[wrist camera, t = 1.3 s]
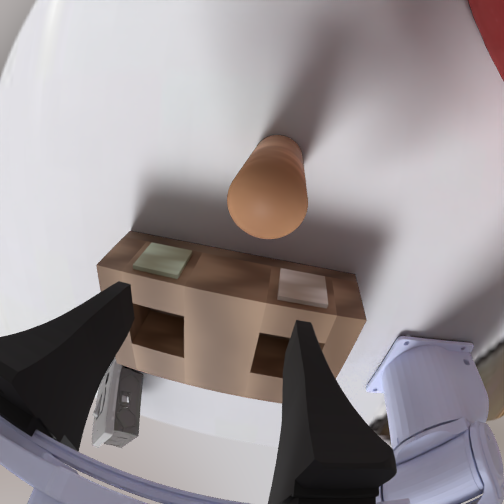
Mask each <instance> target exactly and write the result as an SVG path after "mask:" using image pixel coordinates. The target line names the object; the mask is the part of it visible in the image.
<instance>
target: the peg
mask: <svg viewBox="0 0 504 504" xmlns="http://www.w3.org/2000/svg"><path fill="white" fill-rule="evenodd" d="M227 205H228V210H229V213H230V215H231V217H232V219H233V220H234V222H235V223H236V224H237V225H238V227H239V228H241V229H242V230H243V231H244V232H246V233H248V234H250V235H252V236H254V237H257V238H262V239H276V238H281V237H283V236H286V235H288V234H290V233H291V232H293V231H294V230H295V229H297V228H298V227H299V225H300V224H301V223H302V221H303V220H304V218H305V215H306V212H307V208H308V197H307V189H306V180H305V172H304V165H303V157H302V152H301V150H300V148H299V146H298V145H297V143H296V142H295V141H293V140H292V139H291V138H289V137H286V136H283V135H272V136H269V137H266V138H265V139H263V140H262V141H261V142H260V143H259V144H258V145H257V147H256V148H255V150H254V151H253V152H252V154H251V155H250V157H249V158H248V160H247V161H246V162H245V164H244V165H243V167H242V168H241V170H240V171H239V172H238V174H237V175H236V177H235V178H234V180H233V181H232V183H231V185H230V187H229V190H228V195H227Z"/></svg>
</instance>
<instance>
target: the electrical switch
mask: <svg viewBox="0 0 504 504" xmlns="http://www.w3.org/2000/svg"><path fill="white" fill-rule="evenodd" d="M142 383H143V374H140V373H137V372H134V371H132V370H130V369H127V368H124V367H123V366H122V365H120V364H117V362H116V358H115V359H114V361H113V362H112V364H111V366H110V368H109V369H108V371H107V373H106V375H105V376H104V378H103V380H102V382H101V384H100V386H99V391H98V396H97V402H96V408H95V410H94V413H93V416H94V422H93V433H92V446H94V447H97V448H99V447H100V446H101V445H102V444H103V443H104V444H107V445H113V446H116V447H120V448H122V447H123V446H125V445H126V444H127V443H129V442H130V441H132V440H133V439H135V438H136V437H137V436H138V433H139V418H140V405H141V393H142ZM128 393H130V394H128ZM127 397H129V403H127ZM126 407H128V408H126Z"/></svg>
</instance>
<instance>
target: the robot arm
mask: <svg viewBox="0 0 504 504" xmlns="http://www.w3.org/2000/svg"><path fill="white" fill-rule="evenodd" d="M134 319H135V317H134V310H133V301H132V293H131V284H128V283H124V282H120V281H118V282H116V283H115V284H113V285H111V286H110V287H108V288H107V289H105V290H103V291H102V292H100V293H99V294H97V295H96V296H94V297H92V298H91V299H89V300H88V301H86V302H84V303H83V304H81V305H79V306H78V307H76V308H74V309H72V310H71V311H69V312H67V313H65V314H64V315H62V316H60V317H58V318H56V319H53V320H51V321H49V322H47V323H45V324H42V325H39V326H37V327H34V328H31V329H29V330H26V331H23V332H19V333H16V334H12V335H8V336H3V337H0V464H1V465H2V466H4V467H5V468H6V469H8V470H9V471H10V472H12V473H13V474H15V475H16V476H17V477H19V478H20V479H22V480H23V481H25V482H26V483H28V484H29V485H31V486H32V487H34V489H33V492H32V494H31V496H30V498H29V501H28V503H27V504H148V503H145V502H142V501H139V500H137V499H134V498H131V497H129V496H126V495H123V494H121V493H118V492H116V491H113V490H111V489H108V488H106V487H104V486H102V485H99V484H97V483H95V482H93V481H90V480H88V479H86V478H84V477H82V476H80V475H79V474H78V473H77V471H76V470H78V471H80V472H82V473H85V474H87V475H89V476H91V477H93V478H95V479H98V480H100V481H103V482H105V483H107V484H109V485H112V486H114V487H117V488H119V489H122V490H124V491H127V492H130V493H132V494H135V495H138V496H141V497H144V498H147V499H150V500H153V501H156V502H160V503H163V504H249V503H241V502H236V501H229V500H224V499H219V498H214V497H209V496H204V495H200V494H196V493H191V492H187V491H183V490H180V489H176V488H173V487H169V486H165V485H162V484H159V483H155V482H153V481H149V480H146V479H143V478H140V477H138V476H135V475H132V474H129V473H127V472H124V471H121V470H119V469H116V468H114V467H111V466H109V465H106V464H104V463H102V462H99V461H97V460H95V459H93V458H90V457H88V456H86V455H84V454H82V453H80V452H78V451H79V447H80V442H81V438H82V434H83V430H84V427H85V423H86V420H87V417H88V414H89V411H90V408H91V405H92V403H93V400H94V397H95V395H96V392H97V390H98V388H99V385H100V383H101V380H102V379H103V377H104V375H105V373H106V371H107V369H108V368H109V366H110V364H111V363H112V361H113V359H114V358H115V356H116V354H117V353H118V351H119V349H120V347H121V346H122V344H123V342H124V341H125V339H126V337H127V335H128V333H129V331H130V328H131V326H132V324H133V321H134ZM406 341H407V342H406ZM473 348H474V345H473V343H468V342H456V341H445V340H435V339H425V338H416V337H407V336H400V337H399V338H397V340H396V341H395V343H394V345H393V346H392V348H391V349H390V351H389V353H388V354H387V356H386V358H385V359H384V361H383V362H382V364H381V365H380V367H379V368H378V370H377V371H376V373H375V374H374V376H373V377H372V379H371V380H370V382H369V383H368V385H367V386H366V391H367V392H374V393H384V398H385V404H386V410H387V416H388V423H389V429H390V437H391V444H392V448H391V447H390V446H389V445H388V444H387V443H386V442H384V441H383V440H382V439H381V438H380V437H379V436H378V435H377V434H376V433H375V432H374V431H373V430H372V429H371V428H370V427H369V426H368V425H367V423H366V422H365V421H364V420H363V419H362V417H361V416H360V415H359V414H358V412H357V411H356V410H355V409H354V407H353V406H352V404H351V403H350V402H349V400H348V399H347V397H346V396H345V394H344V393H343V391H342V389H341V388H340V386H339V384H338V383H337V381H336V379H335V377H334V375H333V373H332V371H331V369H330V367H329V365H328V363H327V361H326V359H325V357H324V354H323V352H322V350H321V347H320V345H319V342H318V340H317V337H316V334H315V331H314V328H313V325H312V324H311V322H306V321H300V320H296V322H295V325H294V328H293V331H292V334H291V337H290V340H289V343H288V346H287V349H286V352H285V359H284V367H283V388H282V426H281V433H280V441H279V447H278V454H277V460H276V466H275V471H274V477H273V482H272V487H271V492H270V496H269V501H268V504H461V503H463V502H465V501H468V500H470V499H472V498H474V497H476V496H478V495H480V494H482V493H483V495H482V496H481V497H479V498H477V499H475V500H473V501H470V502H468V503H466V504H502V502H503V500H504V474H503V464H502V458H501V454H500V450H499V447H498V445H497V442H496V439H495V437H494V434H493V433H492V430H491V429H490V427H489V426H488V425H487V424H486V423H485V422H486V419H487V416H488V410H489V400H488V395H487V392H486V390H485V387H484V385H483V382H482V380H481V377H480V375H479V372H478V370H477V368H476V365H475V363H474V361H473V359H472V356H471V354H470V352H471V351H472V350H473ZM64 463H65V464H64ZM66 464H67V465H66ZM68 465H69V466H70V467H69V466H68ZM71 467H72V468H75V469H76V470H74V469H72V468H71Z"/></svg>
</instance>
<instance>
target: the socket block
mask: <svg viewBox="0 0 504 504" xmlns="http://www.w3.org/2000/svg"><path fill="white" fill-rule="evenodd" d="M97 272H98V278H99V284H100V290H101V292H102V291H103V290H105V289H107V288H108V287H110V286H111V285H113V284H115V283H116V282H118V281H120V282H124V283H128V284H131V293H132V301H133V310H134V317H135V319H134V321H133V324H132V326H131V328H130V331H129V333H128V335H127V337H126V339H125V341H124V342H123V344H122V346H121V347H120V349H119V351H118V353H117V354H116V356H115V358H116V362H117V364H120V365H123V366H126V367H129V368H132V369H135V370H138V371H142V372H145V373H148V374H151V375H155V376H158V377H162V378H165V379H169V380H172V381H176V382H180V383H184V384H187V385H191V386H195V387H200V388H204V389H208V390H212V391H217V392H222V393H226V394H231V395H236V396H241V397H246V398H252V399H258V400H263V401H270V402H276V403H282V388H283V367H284V359H285V352H286V349H287V346H288V343H289V340H290V337H291V334H292V331H293V328H294V325H295V322H296V320H300V321H306V322H311V324H312V325H313V328H314V331H315V334H316V337H317V340H318V342H319V345H320V347H321V350H322V352H323V354H324V357H325V359H326V361H327V363H328V365H329V367H330V369H331V371H332V373H333V375H334V377H335V379H336V377H337V375H338V374H339V372H340V370H341V368H342V367H343V365H344V363H345V361H346V359H347V357H348V355H349V354H350V352H351V350H352V348H353V346H354V344H355V342H356V340H357V338H358V336H359V334H360V332H361V330H362V328H363V326H364V324H365V322H366V316H365V312H364V308H363V304H362V300H361V296H360V292H359V288H358V284H357V280H356V276H355V274H350V273H345V272H340V271H335V270H329V269H324V268H319V267H314V266H309V265H303V264H298V263H293V262H288V261H283V260H278V259H272V258H267V257H262V256H257V255H252V254H247V253H241V252H236V251H231V250H226V249H221V248H216V247H210V246H205V245H200V244H195V243H190V242H185V241H180V240H175V239H169V238H164V237H159V236H154V235H149V234H144V233H139V232H134V231H130V232H129V233H128V234H127V235H126V236H124V237H123V238H122V239H121V240H120V241H119V242H118V243H117V244H116V245H115V246H114V247H113V248H112V249H111V250H110V251H109V253H108V254H107V255H106V256H105V257H104V258H103V259H102V260H101V261H100V262H99V263H98V264H97Z"/></svg>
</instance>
